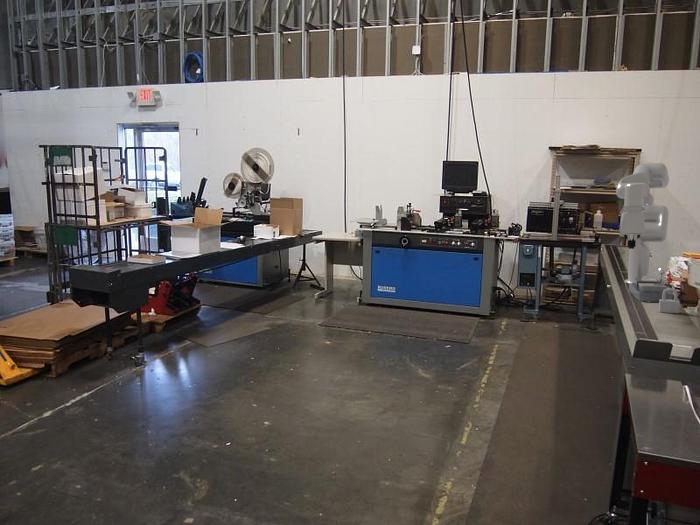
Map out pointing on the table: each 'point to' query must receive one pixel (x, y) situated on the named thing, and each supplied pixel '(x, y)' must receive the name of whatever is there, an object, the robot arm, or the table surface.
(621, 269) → the table surface
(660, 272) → the cable arm
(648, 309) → the table surface
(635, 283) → the chassis
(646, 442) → the table surface
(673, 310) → the padlock
